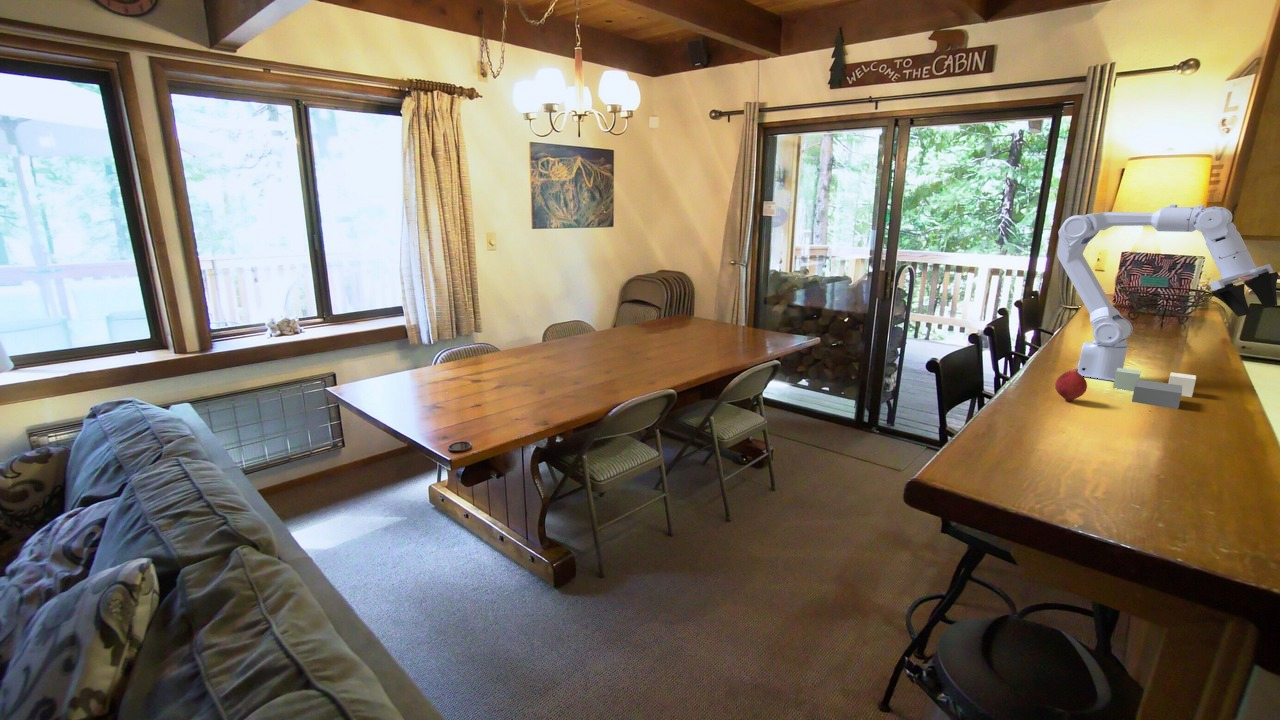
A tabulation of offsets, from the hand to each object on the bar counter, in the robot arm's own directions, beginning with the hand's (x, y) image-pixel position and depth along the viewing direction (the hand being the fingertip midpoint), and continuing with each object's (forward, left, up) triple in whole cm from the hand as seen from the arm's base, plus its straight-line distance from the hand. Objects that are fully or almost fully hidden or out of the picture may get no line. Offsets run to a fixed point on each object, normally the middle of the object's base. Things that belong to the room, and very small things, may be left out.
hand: (1257, 310), depth 130 cm
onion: (-29, -27, -21) cm, 45 cm away
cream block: (-10, -2, -21) cm, 23 cm away
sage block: (-20, -5, -21) cm, 29 cm away
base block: (-14, -14, -21) cm, 29 cm away
